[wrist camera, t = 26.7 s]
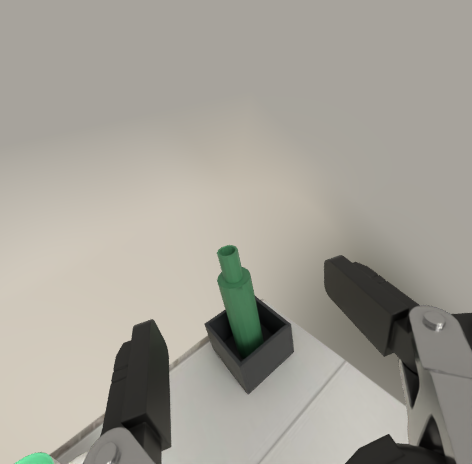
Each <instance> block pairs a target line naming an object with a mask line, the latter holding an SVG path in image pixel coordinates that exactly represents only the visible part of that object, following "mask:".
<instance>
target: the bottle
mask: <svg viewBox="0 0 472 464" xmlns="http://www.w3.org/2000/svg"><path fill="white" fill-rule="evenodd" d="M217 254H218V258H219V262H220V266H221V269H222V272H221V274H220V275H219V276H218V280H217V282H218V285H219V288H220V292H221V295H222V298H223V302H224V305H225V309H226V312H227V316H228V319H229V323H230V326H231V330H232V333H233V336H234V340H235V343H236V347H237V350H238V353H239V355H240V357H241V358H242V359H245V358H246V357H248V356H249V355H250V354H251V353H252V352H254V351H255V350H256V349H257V348H258V347H259V346H261V345H262V344H263V343H264V340H263V335H262V330H261V325H260V320H259V315H258V310H257V305H256V300H255V295H254V290H253V286H252V281H251V276H250V273H249V271H248V270H247V269H245V268H243V267H241V263H240V258H239V254H238V249H237V248H236V247H235V246H232V245H227V246H225V247H222V248H220V249H219V250H218V252H217Z"/></svg>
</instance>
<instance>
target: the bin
mask: <svg viewBox="0 0 472 464" xmlns="http://www.w3.org/2000/svg"><path fill="white" fill-rule="evenodd" d="M255 300H256V305H257V310H258V315H259V320H260V325H261V330H262V335H263V340H264V343H263V344H262V345H261V346H259V347H258V348H257V349H256V350H255V351H254V352H252V353H251V354H250V355H249V356H248V357H246V358H245V359H242V358H241V357H240V355H239V353H238V350H237V347H236V343H235V340H234V336H233V333H232V330H231V326H230V323H229V319H228V316H227V312H226V310H224V311H223V312H221V313H220V314H218V315H217V316H215V317H214V318H213V319H211V320H210V321H208V322H207V323H205V327H206V330H207V332H208V335H209V338H210V341H211V343H212V346H213V349H214V351H215V352H216V353H217V355H218V356H219V357H220V358H221V360H222V361H223V362H224V364H225V365H226V366H227V368H228V369H229V370H230V372H231V373H232V374H233V376H234V377H235V378H236V379H237V381H238V382H239V383H240V385H241V386H242V387H243V389H244V390H245V391H246V393H247V394H249V393H250V392H251V391H252V390H254V389H255V388H256V387H257V386H258V385H259V384H260V383H261V382H262V381H263V380H264V379H265V378H266V377H267V376H269V375H270V374H271V373H272V372H273V371H274V370H275V369H276V368H277V367H278V366H279V365H280V364H281V363H282V362H284V361H285V360H286V359H287V358H288V357H289V356H290V355H291V354H292V353H293V352H294V348H293V339H292V330H291V324H290V323H289V322H288V321H286V320H285V319H284V318H282V317H281V316H280V315H279V314H277V313H276V312H275V311H274V310H272V309H271V308H270V307H268V306H267V305H266V304H265V303H263V302H262V301H261V300H259V299H258V298H257V297H256V296H255Z"/></svg>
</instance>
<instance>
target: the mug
mask: <svg viewBox="0 0 472 464" xmlns="http://www.w3.org/2000/svg"><path fill="white" fill-rule="evenodd" d="M88 452H89V451H88ZM88 452H86V453H83V454H81V455H80V456H78V457H76V458H75V459H73V460H72V461H71V462H69V463H67V464H83V462H84V460H85V457H86V455H87V453H88ZM15 464H61V463H59V462H58V461H56V460H55V459H54V458H52V457H51V456H50V455H48V454H46V453H41V452H40V453H34V454H31V455H28V456H26V457H24V458H23V459H21V460H19V461H18V462H16V463H15Z"/></svg>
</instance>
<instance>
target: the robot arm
mask: <svg viewBox="0 0 472 464" xmlns="http://www.w3.org/2000/svg"><path fill="white" fill-rule="evenodd" d="M324 285H325V289H326V292H327V294H328V296H329V297H330V298H331V299H332V300H333V301H334V302H335V304H336V305H337V306H338V307H339V308H340V309H341V310H342V311H343V312H344V314H346V316H347V317H348V318H349V319H350V320H351V321H352V322H353V323H354V324H355V326H356V327H357V328H358V329H359V330H360V331H361V332H362V333H363V334H364V335H365V336H366V338H367V339H368V340H369V341H370V342H371V343H372V344H373V345H374V346H375V347H376V349H378V351H379V352H380V353H381V354H382V355H383V356H384V357H385V356H387V355H389V354H392V353H395V354H396V355H397V356H398V357H399V368H400V374H401V380H402V385H403V391H404V396H405V402H406V408H407V415H408V425H407V430H408V442H409V444H399V443H395V442H394V440H393V439H392V437H391V436H390V435H389V434H388V435H385V436H383V437H381V438H379V439H377V440H375V441H373V442H371V443H369V444H367V445H365V446H363V447H361V448H359V449H358V450H357V451H356V452H355V453H354V455H353V456H352V457H351V458H350V459H349V460H348V461H347V462H346V463H345V464H472V313H462V314H450V313H448V312H446V311H444V310H442V309H439V308H437V307H433V306H426V305H423V306H420V305H419V304H417V303H416V302H414V301H413V300H412V299H411V298H409V297H408V296H406V295H405V294H404V293H402V292H401V291H400V290H398V289H397V288H396V287H394V286H393V285H392V284H390V283H389V282H388V281H387V282H386V281H385V279H383V278H382V277H381V276H380V275H379V276H378V275H377V273H376V272H374V271H373V270H372V269H370V268H369V267H367V266H365V265H362V264H360V263H357V262H354V263H352V262H350V261H349V260H348V259H346V258H345V257H344V256H342V255H339V256H337V257H334V258H331V259H328V260H326V261H325V263H324ZM111 381H112V384H111V386H110V391H109V397H108V402H107V407H106V412H105V418H104V423H103V428H102V432H101V435H100V438H99V439H98V440H97V441H96V442H95V443H94V444H93V445H92V447H91V448H90V450H89V452H88V453H87V455H86V457H85V460H84V462H83V464H161V451H163V450H165V449H168V448H170V447H171V419H170V385H169V355H168V349H167V346H166V343H165V340H164V338H163V336H162V335H161V333H160V331H159V329H158V327H157V325H156V323H155V321H154V320H153V319H152V320H148V321H146V322H143V323H140V324H137V325H135V326H134V327H133V332H132V340H131V341H128V342H125V343H123V345H122V347H121V348H120V350H119V352H118V354H117V356H116V359H115V364H114V372H113V375H112V380H111Z"/></svg>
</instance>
